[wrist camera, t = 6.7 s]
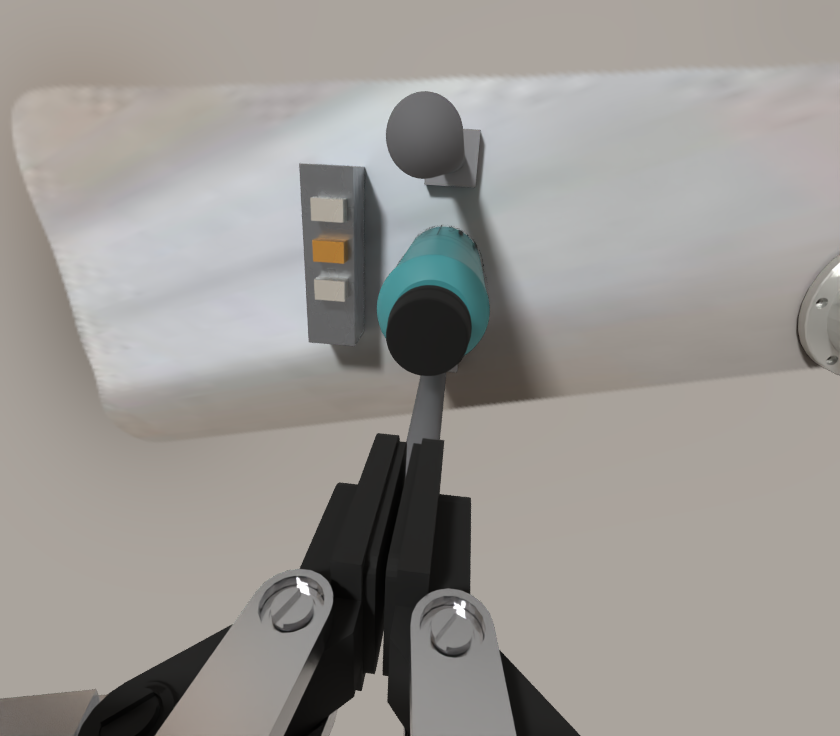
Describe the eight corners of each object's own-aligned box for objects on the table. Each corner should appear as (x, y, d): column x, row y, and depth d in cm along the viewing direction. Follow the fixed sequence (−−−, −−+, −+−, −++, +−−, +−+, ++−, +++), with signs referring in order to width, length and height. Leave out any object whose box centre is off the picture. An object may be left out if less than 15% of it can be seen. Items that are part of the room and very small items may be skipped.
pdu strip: (364, 166, 36) (349, 166, 31) (364, 330, 42) (351, 351, 37) (316, 164, 36) (293, 163, 31) (322, 327, 42) (304, 347, 37)
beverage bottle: (396, 282, 40) (338, 379, 21) (421, 208, 37) (378, 246, 19) (465, 308, 40) (464, 425, 22) (495, 236, 37) (523, 301, 19)
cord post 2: (461, 328, 41) (454, 548, 17) (457, 368, 42) (446, 618, 19) (417, 324, 41) (352, 536, 17) (415, 364, 43) (353, 607, 19)
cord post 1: (480, 130, 34) (513, 46, 11) (474, 187, 36) (492, 222, 12) (428, 128, 34) (347, 39, 11) (425, 183, 36) (349, 213, 12)
